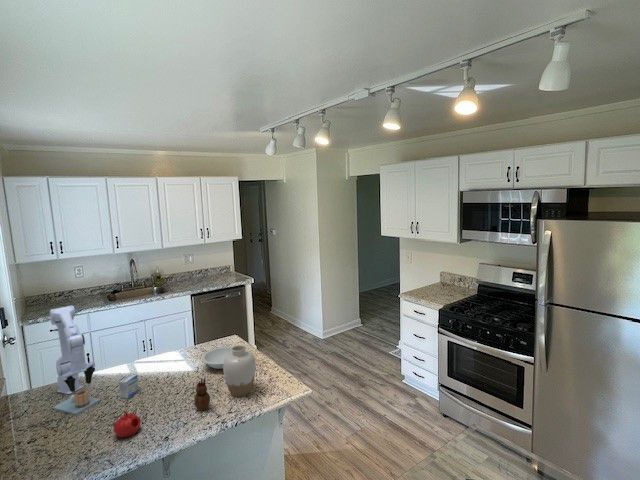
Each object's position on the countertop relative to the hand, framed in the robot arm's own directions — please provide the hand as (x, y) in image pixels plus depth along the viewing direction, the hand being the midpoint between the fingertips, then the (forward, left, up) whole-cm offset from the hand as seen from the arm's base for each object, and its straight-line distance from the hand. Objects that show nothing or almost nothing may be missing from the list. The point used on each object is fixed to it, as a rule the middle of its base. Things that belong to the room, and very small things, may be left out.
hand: (80, 387), depth 166 cm
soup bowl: (+40, +56, -10) cm, 70 cm away
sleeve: (0, 0, -9) cm, 9 cm away
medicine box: (+13, +15, -10) cm, 22 cm away
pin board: (-4, 0, -10) cm, 10 cm away
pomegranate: (+38, -8, -10) cm, 40 cm away
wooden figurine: (+57, +16, -10) cm, 60 cm away
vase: (+66, +34, -10) cm, 75 cm away
